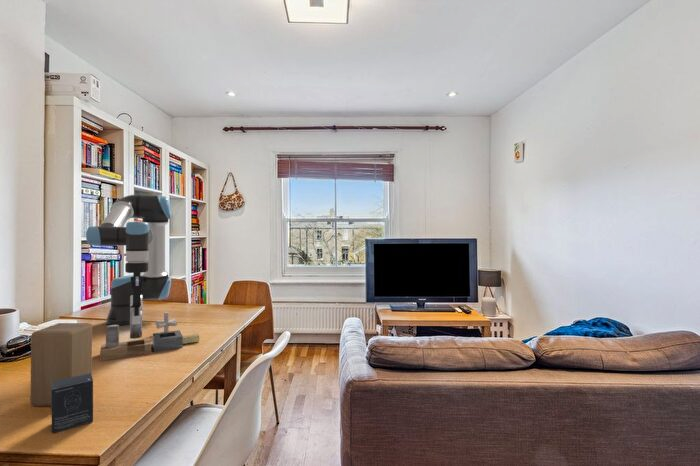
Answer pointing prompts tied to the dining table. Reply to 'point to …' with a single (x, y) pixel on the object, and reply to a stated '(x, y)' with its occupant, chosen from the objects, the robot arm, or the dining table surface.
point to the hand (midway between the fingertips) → (136, 322)
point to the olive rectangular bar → (190, 338)
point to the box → (72, 402)
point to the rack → (122, 345)
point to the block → (58, 357)
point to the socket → (167, 340)
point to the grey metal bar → (135, 328)
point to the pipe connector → (166, 322)
